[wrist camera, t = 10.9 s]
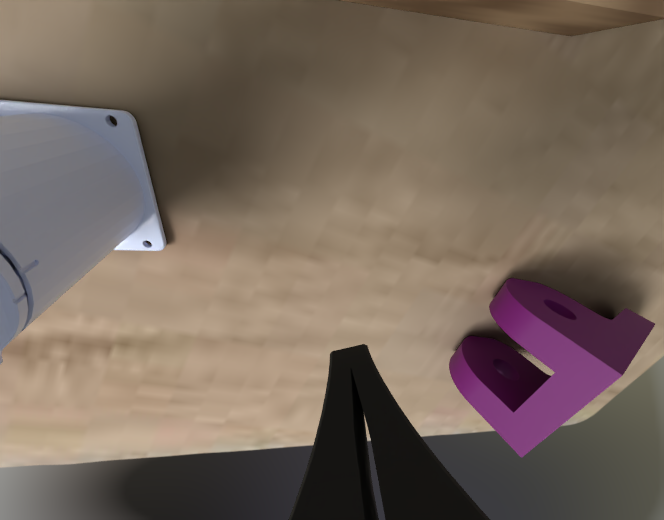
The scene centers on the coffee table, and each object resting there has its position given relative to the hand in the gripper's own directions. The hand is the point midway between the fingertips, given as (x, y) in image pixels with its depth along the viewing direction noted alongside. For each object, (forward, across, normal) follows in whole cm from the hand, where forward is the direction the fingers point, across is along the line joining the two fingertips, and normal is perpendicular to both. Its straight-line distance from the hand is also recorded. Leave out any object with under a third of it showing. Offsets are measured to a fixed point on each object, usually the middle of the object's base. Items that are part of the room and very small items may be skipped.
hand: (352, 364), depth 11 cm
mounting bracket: (+11, -18, +15) cm, 26 cm away
